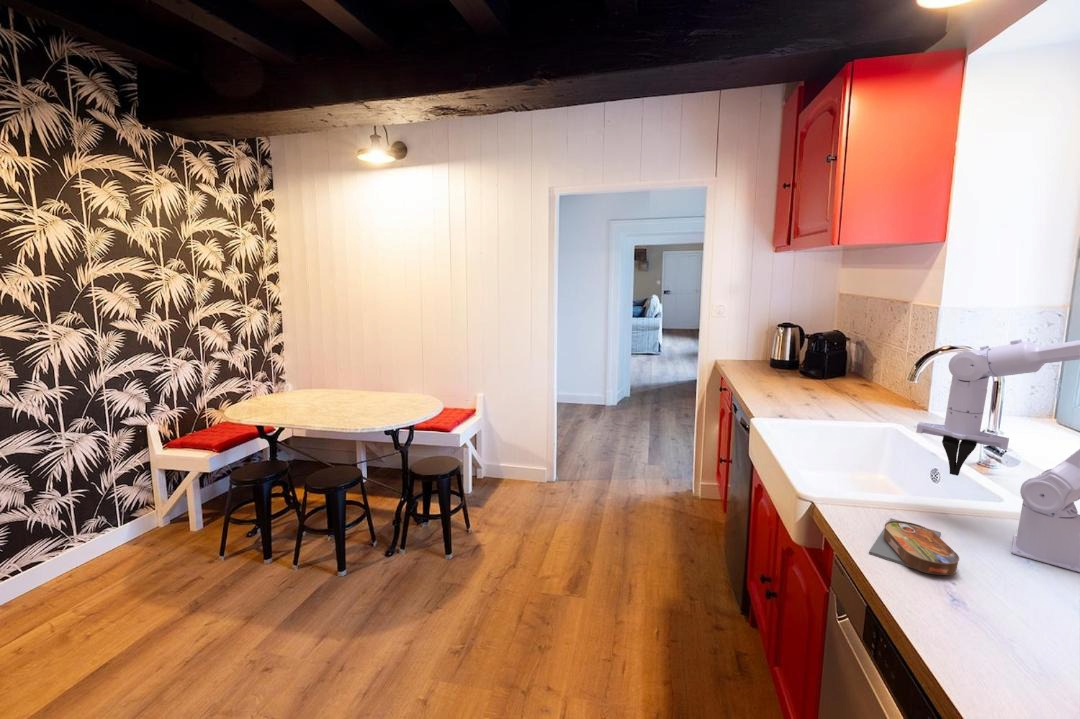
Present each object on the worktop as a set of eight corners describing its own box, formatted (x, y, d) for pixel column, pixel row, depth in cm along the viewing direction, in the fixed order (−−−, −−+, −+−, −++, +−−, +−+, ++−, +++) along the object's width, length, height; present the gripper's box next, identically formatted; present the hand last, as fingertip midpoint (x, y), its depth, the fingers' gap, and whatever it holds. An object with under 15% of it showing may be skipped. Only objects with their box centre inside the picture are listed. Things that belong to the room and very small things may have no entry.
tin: (970, 566, 89) (914, 557, 90) (965, 583, 89) (910, 573, 91) (925, 523, 103) (877, 515, 105) (921, 537, 104) (874, 530, 105)
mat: (940, 534, 105) (940, 532, 105) (924, 571, 92) (924, 569, 92) (890, 520, 111) (890, 518, 111) (868, 553, 98) (869, 551, 98)
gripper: (917, 406, 108) (908, 469, 111) (1011, 421, 99) (999, 490, 101) (923, 399, 113) (914, 460, 116) (1013, 414, 104) (1001, 479, 106)
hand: (954, 473), depth 109 cm, fingers closed
